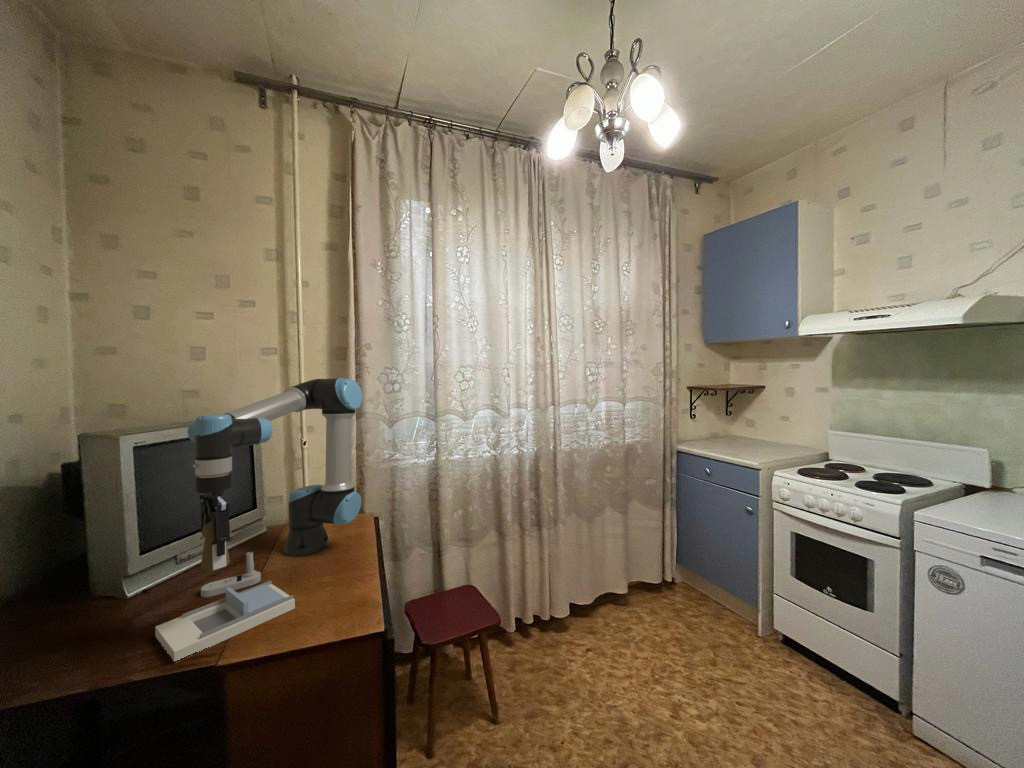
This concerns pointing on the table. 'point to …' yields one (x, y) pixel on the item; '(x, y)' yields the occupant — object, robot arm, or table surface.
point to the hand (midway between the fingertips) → (214, 563)
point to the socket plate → (215, 624)
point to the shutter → (252, 599)
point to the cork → (209, 548)
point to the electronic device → (234, 580)
